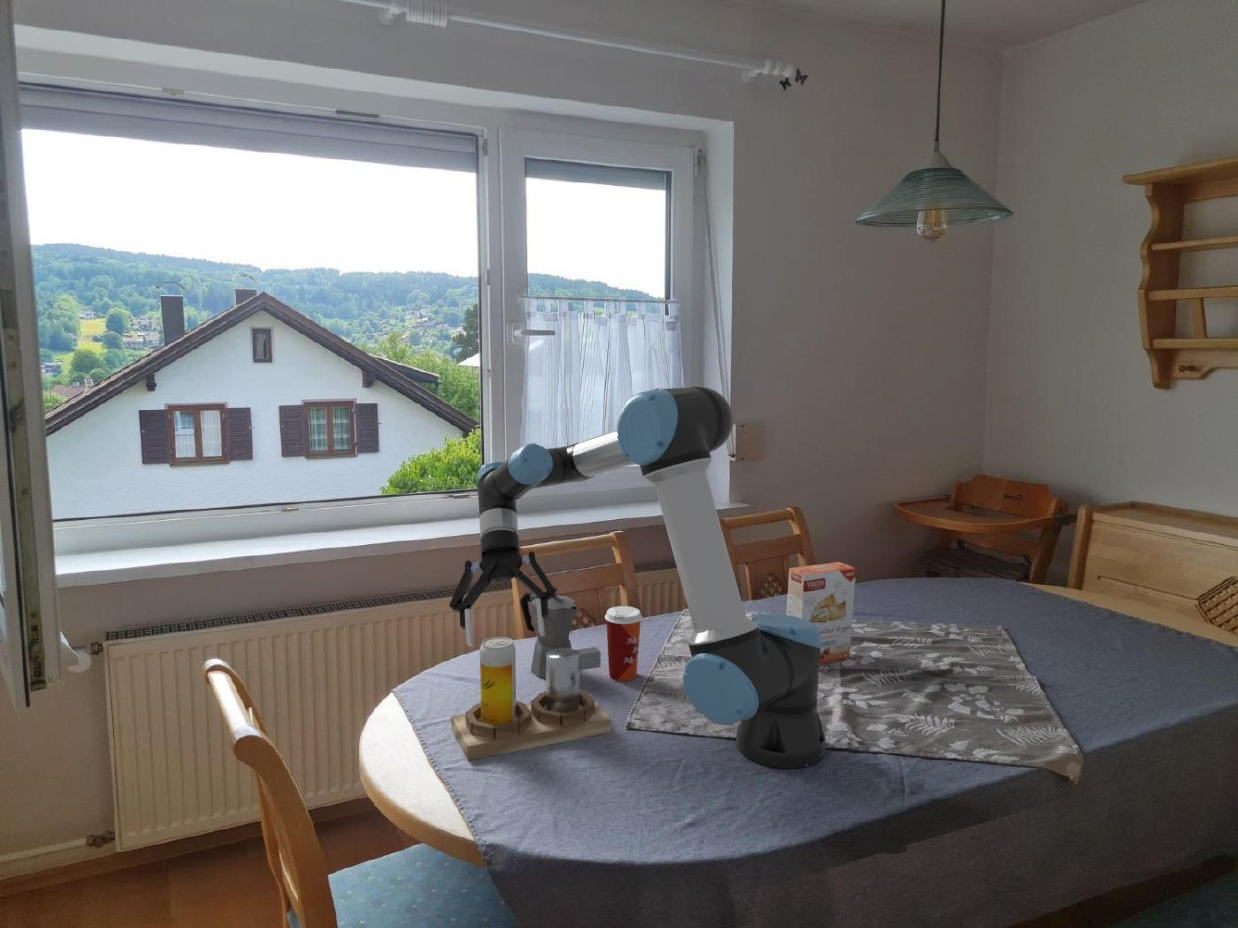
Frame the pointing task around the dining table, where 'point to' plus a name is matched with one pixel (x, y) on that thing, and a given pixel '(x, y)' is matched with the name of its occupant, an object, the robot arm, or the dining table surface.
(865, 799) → the dining table surface
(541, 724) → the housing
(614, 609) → the paper cup
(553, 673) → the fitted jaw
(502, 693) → the beer can
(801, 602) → the cracker box
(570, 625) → the coffeepot
